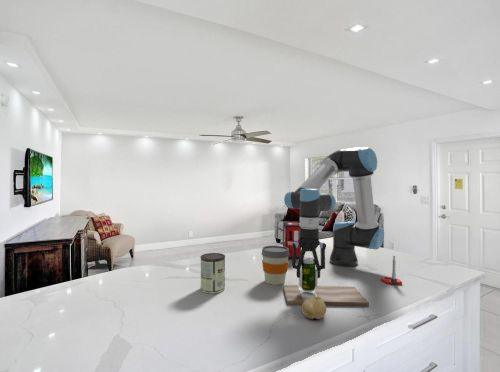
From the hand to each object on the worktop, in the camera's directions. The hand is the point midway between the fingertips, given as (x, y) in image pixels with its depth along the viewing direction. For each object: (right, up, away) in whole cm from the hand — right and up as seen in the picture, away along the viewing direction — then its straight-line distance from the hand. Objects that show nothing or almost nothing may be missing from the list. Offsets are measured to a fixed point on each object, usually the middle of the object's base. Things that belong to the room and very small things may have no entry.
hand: (308, 285), depth 115 cm
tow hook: (+42, -5, +19) cm, 47 cm away
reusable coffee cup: (-12, -4, +17) cm, 21 cm away
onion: (-1, -5, -17) cm, 18 cm away
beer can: (0, -2, 0) cm, 2 cm away
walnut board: (+6, -4, 0) cm, 7 cm away
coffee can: (-39, -4, +7) cm, 40 cm away
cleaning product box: (+2, -3, +63) cm, 63 cm away
